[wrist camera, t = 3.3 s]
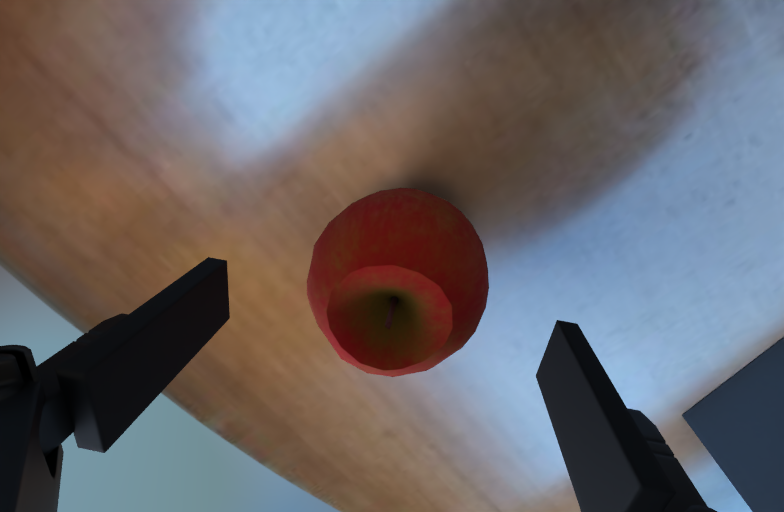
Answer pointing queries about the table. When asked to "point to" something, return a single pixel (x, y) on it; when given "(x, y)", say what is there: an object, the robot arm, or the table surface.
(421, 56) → the table surface
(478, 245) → the apple
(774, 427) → the shelf
